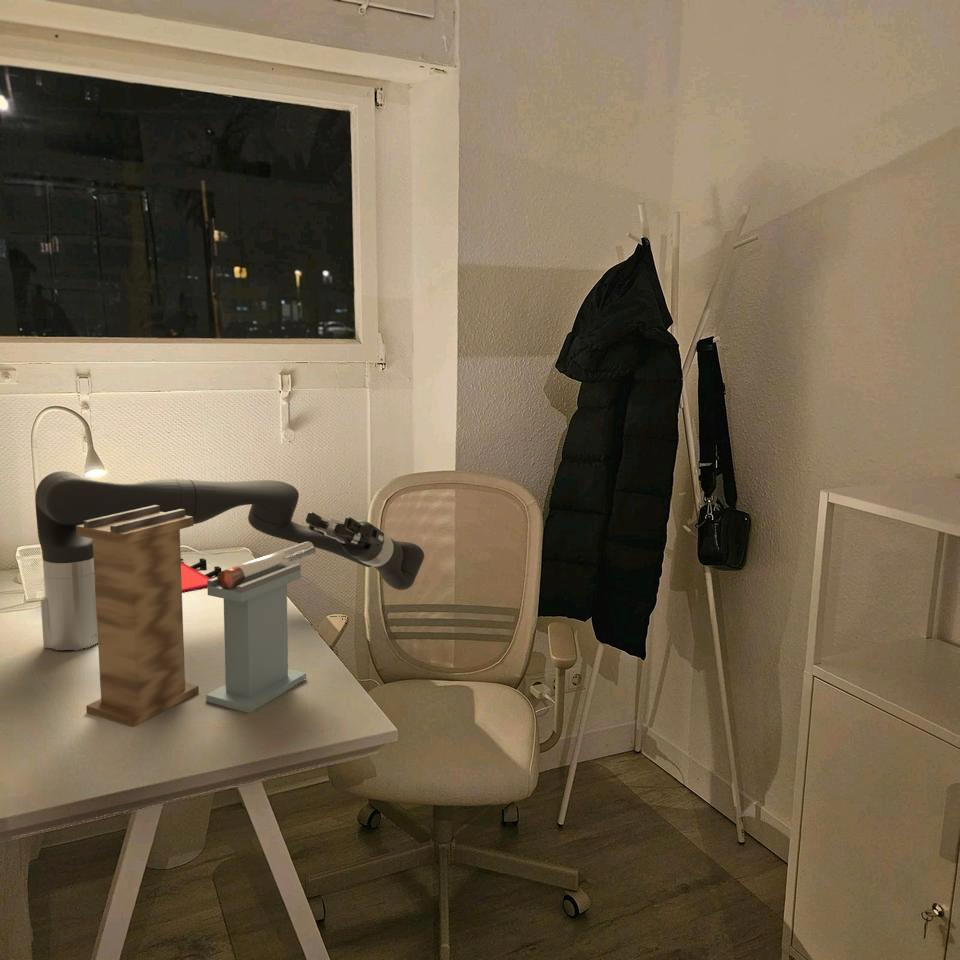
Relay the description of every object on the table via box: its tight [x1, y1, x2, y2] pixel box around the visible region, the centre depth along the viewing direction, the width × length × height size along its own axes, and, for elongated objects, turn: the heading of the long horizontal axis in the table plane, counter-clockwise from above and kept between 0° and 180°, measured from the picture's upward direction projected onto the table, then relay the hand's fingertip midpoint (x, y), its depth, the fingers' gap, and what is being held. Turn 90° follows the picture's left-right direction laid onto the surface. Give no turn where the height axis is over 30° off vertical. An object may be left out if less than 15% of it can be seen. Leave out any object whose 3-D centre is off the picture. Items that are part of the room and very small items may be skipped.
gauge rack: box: [205, 563, 307, 714], centre depth 140 cm, size 15×9×21 cm, turn 155°
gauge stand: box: [76, 505, 199, 728], centre depth 133 cm, size 14×10×32 cm
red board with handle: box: [181, 557, 222, 593], centre depth 206 cm, size 30×3×15 cm
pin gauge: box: [217, 542, 316, 589], centre depth 141 cm, size 22×3×3 cm, turn 155°
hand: (327, 519), depth 155 cm, fingers open, 8 cm apart
